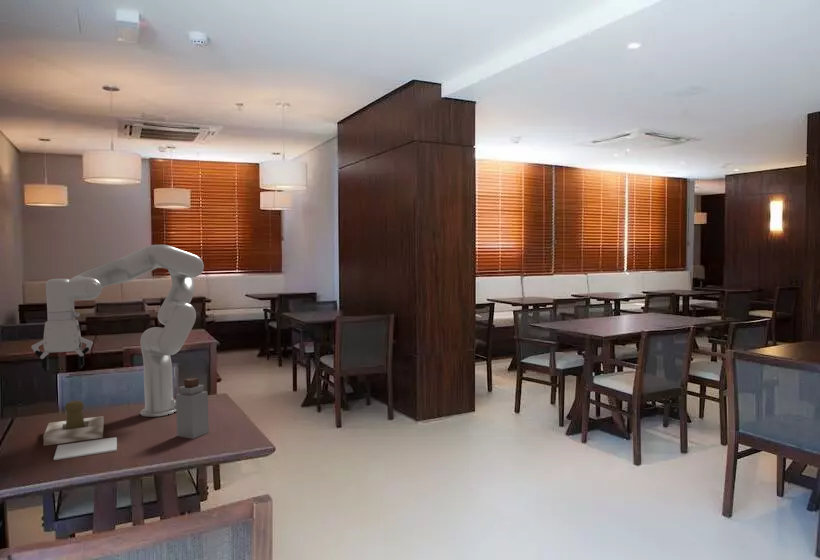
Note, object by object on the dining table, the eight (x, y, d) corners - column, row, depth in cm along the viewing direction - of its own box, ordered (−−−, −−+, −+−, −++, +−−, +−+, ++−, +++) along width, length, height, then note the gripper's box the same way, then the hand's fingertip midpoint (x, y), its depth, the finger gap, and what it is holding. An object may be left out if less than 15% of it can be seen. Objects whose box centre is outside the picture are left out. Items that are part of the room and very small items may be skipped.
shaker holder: (103, 424, 197) (103, 416, 197) (102, 437, 183) (102, 428, 183) (49, 431, 190) (48, 422, 190) (43, 445, 176) (43, 436, 176)
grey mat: (116, 438, 182) (116, 437, 182) (116, 450, 170) (116, 449, 170) (57, 446, 175) (57, 445, 175) (53, 460, 163) (53, 458, 163)
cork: (90, 431, 189) (89, 399, 189) (78, 437, 183) (76, 403, 183) (73, 431, 190) (71, 398, 189) (60, 437, 184) (58, 403, 183)
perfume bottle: (208, 432, 187) (207, 377, 186) (192, 438, 181) (191, 382, 180) (193, 430, 190) (191, 376, 189) (177, 436, 184) (175, 380, 183)
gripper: (93, 314, 192) (95, 364, 193) (33, 317, 186) (36, 369, 187) (89, 316, 185) (91, 369, 186) (26, 319, 179) (29, 373, 180)
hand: (63, 369), depth 186 cm, fingers open, 9 cm apart
